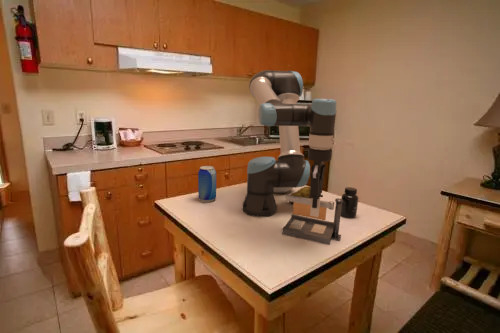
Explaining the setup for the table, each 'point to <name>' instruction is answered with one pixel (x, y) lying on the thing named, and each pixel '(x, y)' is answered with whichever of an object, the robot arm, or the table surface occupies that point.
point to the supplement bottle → (349, 203)
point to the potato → (302, 193)
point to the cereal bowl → (282, 189)
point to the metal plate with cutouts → (309, 229)
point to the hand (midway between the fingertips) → (314, 215)
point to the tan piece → (308, 207)
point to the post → (337, 220)
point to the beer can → (207, 184)
